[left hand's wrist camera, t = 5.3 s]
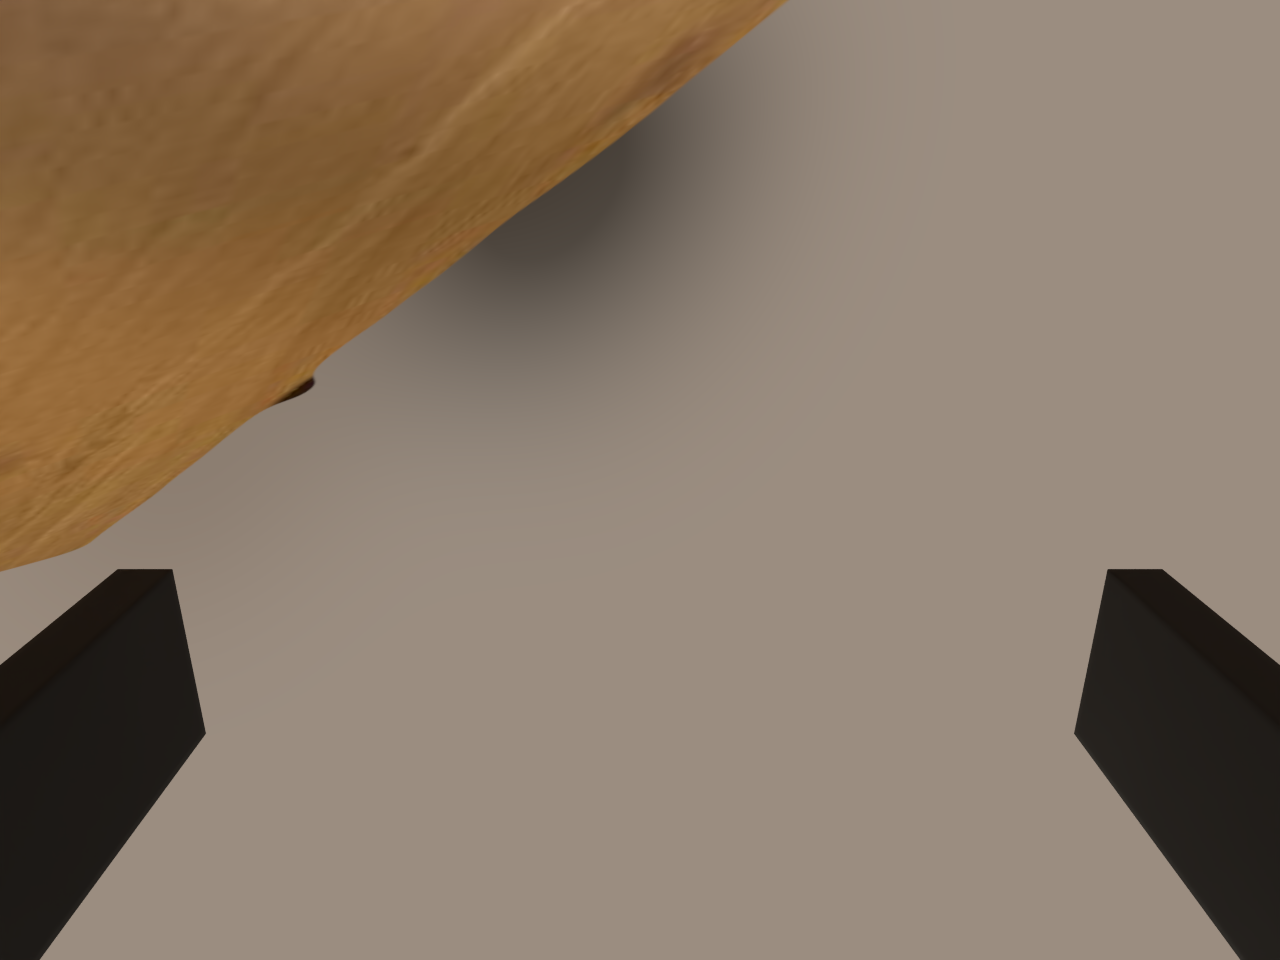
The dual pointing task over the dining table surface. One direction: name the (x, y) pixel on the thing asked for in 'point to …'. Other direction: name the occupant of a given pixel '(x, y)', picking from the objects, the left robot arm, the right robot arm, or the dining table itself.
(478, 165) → the dining table surface
